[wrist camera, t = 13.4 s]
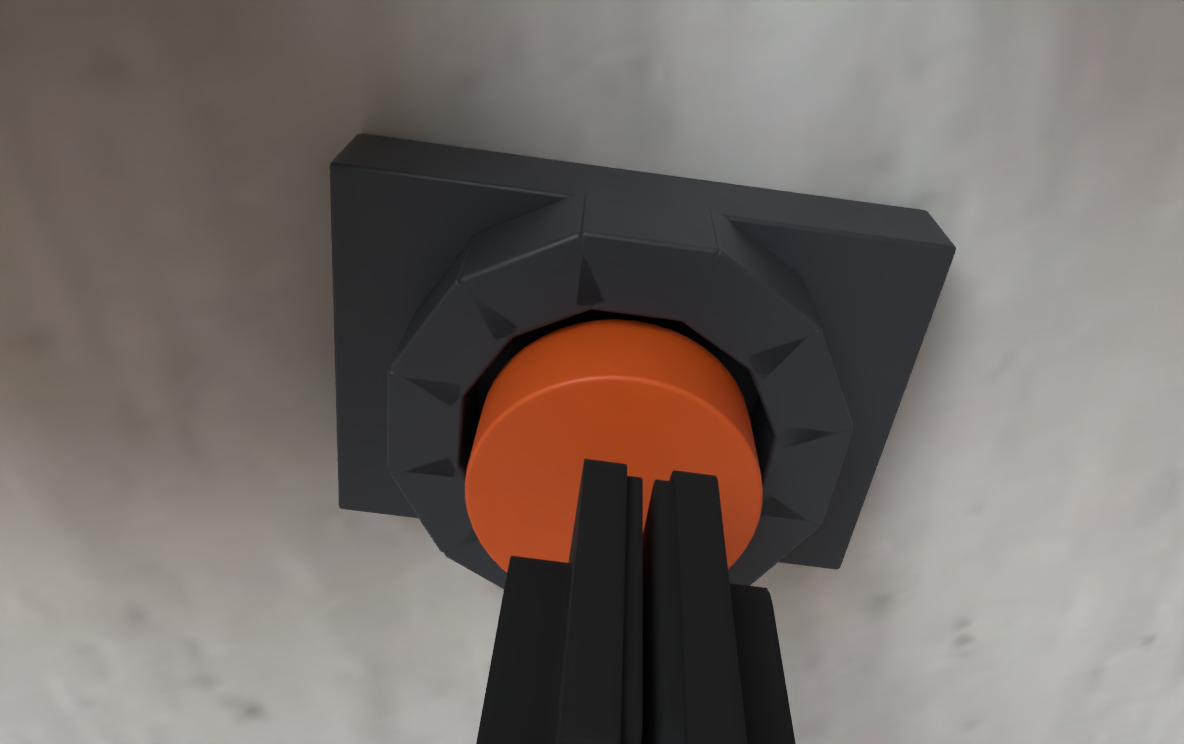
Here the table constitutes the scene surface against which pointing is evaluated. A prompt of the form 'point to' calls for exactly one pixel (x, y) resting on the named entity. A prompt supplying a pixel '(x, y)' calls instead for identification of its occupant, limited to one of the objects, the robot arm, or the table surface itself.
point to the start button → (605, 433)
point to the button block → (617, 291)
